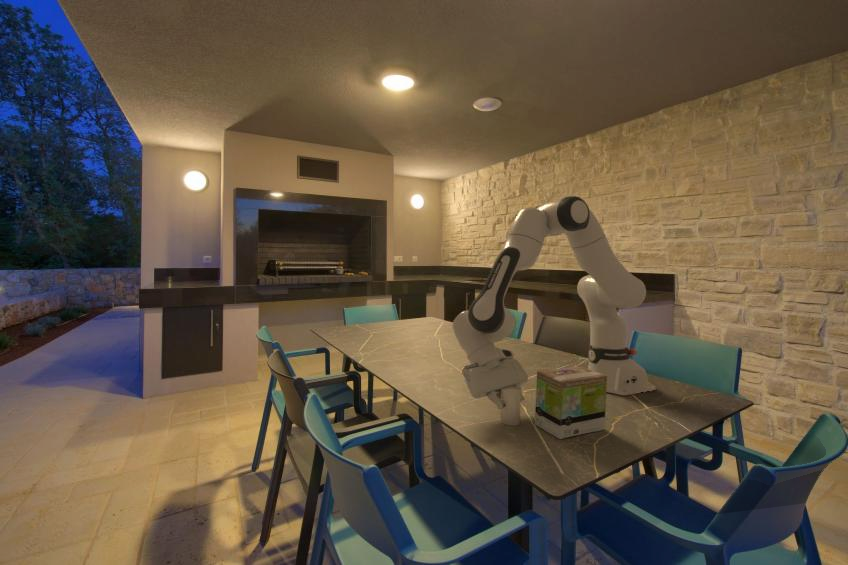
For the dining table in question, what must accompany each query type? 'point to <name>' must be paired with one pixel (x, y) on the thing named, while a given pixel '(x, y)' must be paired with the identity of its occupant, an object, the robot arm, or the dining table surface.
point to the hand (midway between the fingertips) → (512, 404)
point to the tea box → (570, 401)
